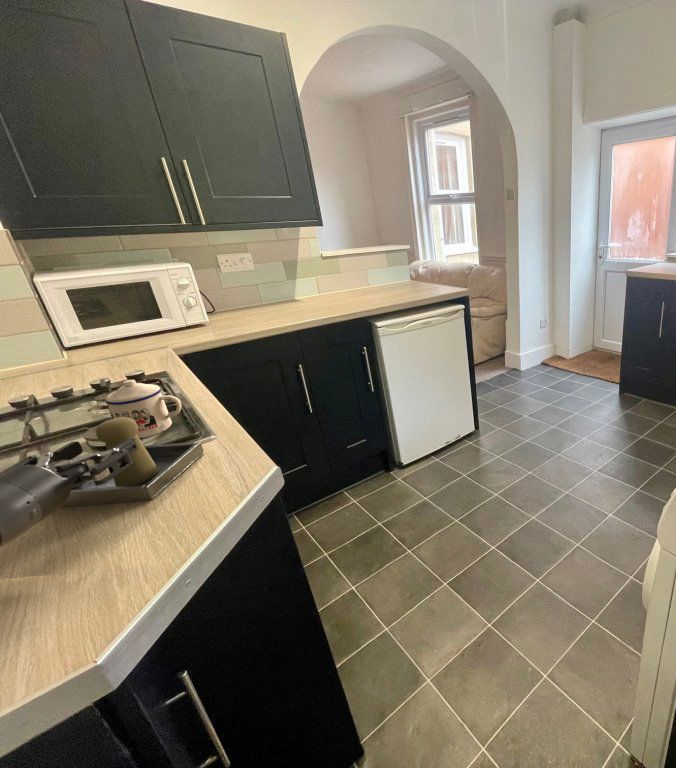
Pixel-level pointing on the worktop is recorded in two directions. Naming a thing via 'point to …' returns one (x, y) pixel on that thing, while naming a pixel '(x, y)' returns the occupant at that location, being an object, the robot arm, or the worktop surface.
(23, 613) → the worktop surface
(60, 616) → the worktop surface
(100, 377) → the worktop surface
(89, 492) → the dark grey square tray
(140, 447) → the cork
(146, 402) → the teacup with lid
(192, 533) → the worktop surface
